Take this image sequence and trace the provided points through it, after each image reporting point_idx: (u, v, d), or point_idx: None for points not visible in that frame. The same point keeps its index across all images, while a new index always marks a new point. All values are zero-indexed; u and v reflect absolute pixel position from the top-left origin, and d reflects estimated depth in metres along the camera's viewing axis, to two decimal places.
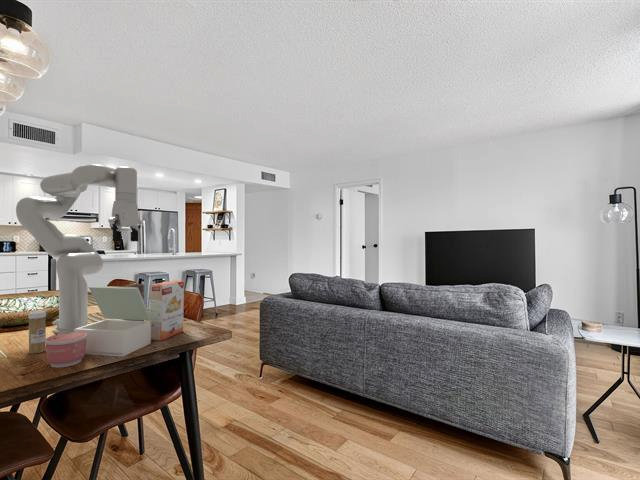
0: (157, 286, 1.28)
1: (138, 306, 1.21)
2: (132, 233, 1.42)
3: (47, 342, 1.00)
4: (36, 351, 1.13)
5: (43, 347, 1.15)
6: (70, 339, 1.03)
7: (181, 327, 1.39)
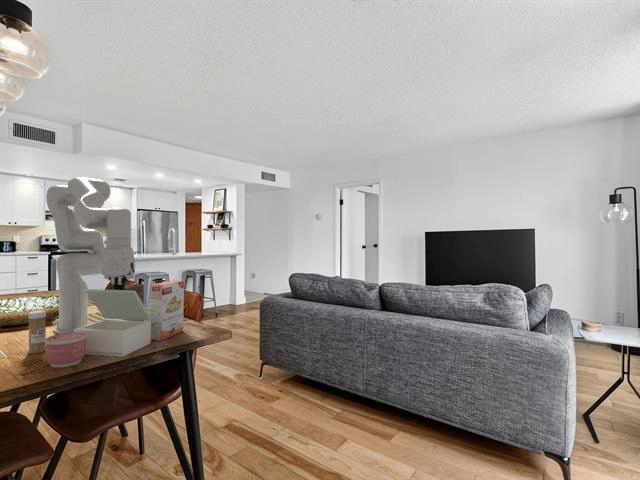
0: (157, 286, 1.28)
1: (137, 308, 1.20)
2: None
3: (47, 342, 1.00)
4: (36, 351, 1.13)
5: (43, 347, 1.15)
6: (70, 339, 1.03)
7: (181, 327, 1.39)
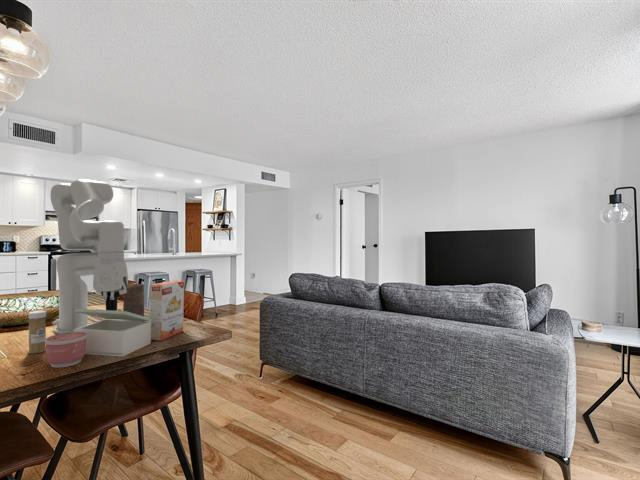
0: (157, 286, 1.28)
1: (133, 317, 1.19)
2: None
3: (47, 342, 1.00)
4: (36, 351, 1.13)
5: (43, 347, 1.15)
6: (70, 339, 1.03)
7: (181, 327, 1.39)
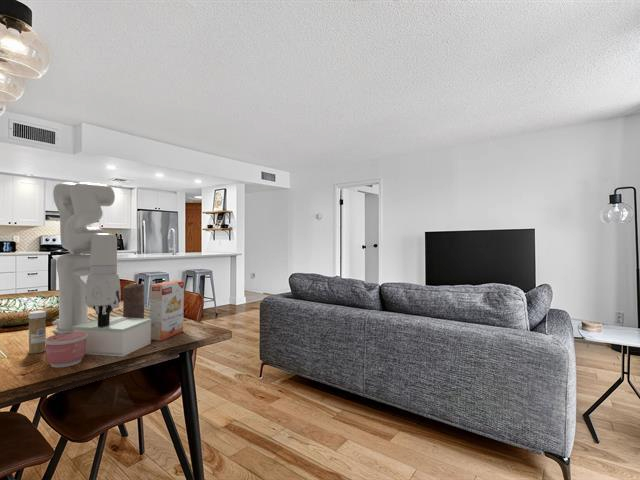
0: (157, 286, 1.28)
1: None
2: None
3: (47, 342, 1.00)
4: (36, 351, 1.13)
5: (43, 347, 1.15)
6: (70, 339, 1.03)
7: (181, 327, 1.39)
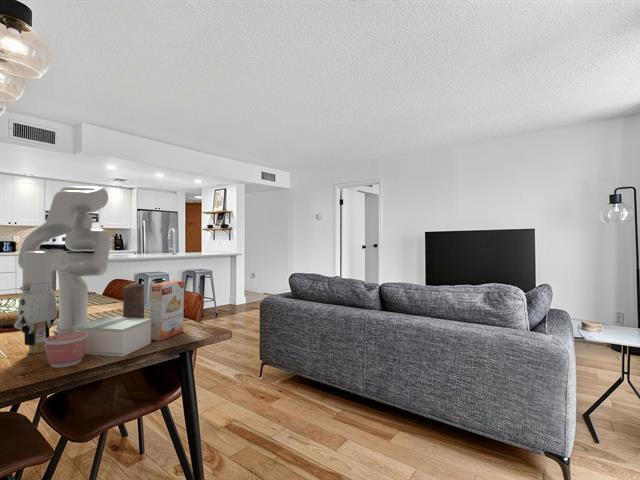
0: (157, 286, 1.28)
1: None
2: None
3: (47, 342, 1.00)
4: (36, 351, 1.13)
5: (43, 347, 1.15)
6: (70, 339, 1.03)
7: (181, 327, 1.39)
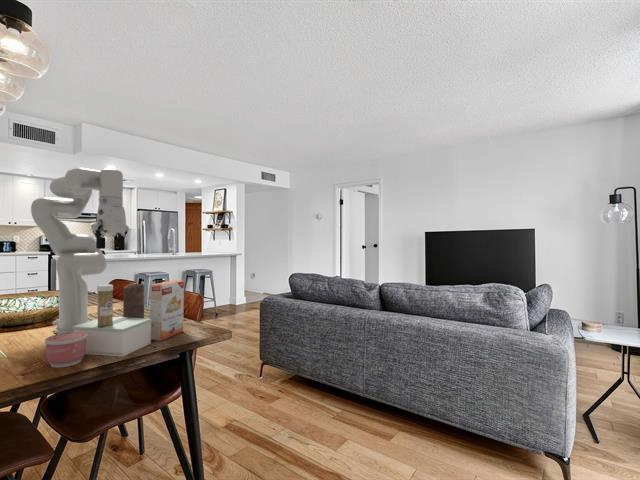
0: (157, 286, 1.28)
1: None
2: None
3: (47, 342, 1.00)
4: (105, 324, 1.14)
5: (111, 320, 1.15)
6: (70, 339, 1.03)
7: (181, 327, 1.39)
